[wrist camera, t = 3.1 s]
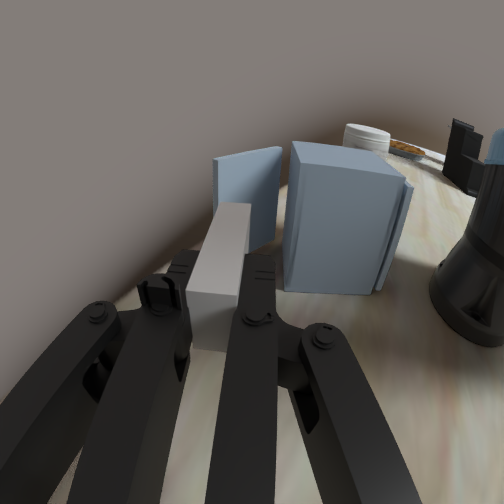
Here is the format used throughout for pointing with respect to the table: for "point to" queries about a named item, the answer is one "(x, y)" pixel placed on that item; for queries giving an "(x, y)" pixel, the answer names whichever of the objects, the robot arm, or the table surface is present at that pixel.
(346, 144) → the supplement tub
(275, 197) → the right flap
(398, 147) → the pie
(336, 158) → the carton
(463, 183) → the black stepped block
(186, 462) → the table surface
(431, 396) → the table surface
